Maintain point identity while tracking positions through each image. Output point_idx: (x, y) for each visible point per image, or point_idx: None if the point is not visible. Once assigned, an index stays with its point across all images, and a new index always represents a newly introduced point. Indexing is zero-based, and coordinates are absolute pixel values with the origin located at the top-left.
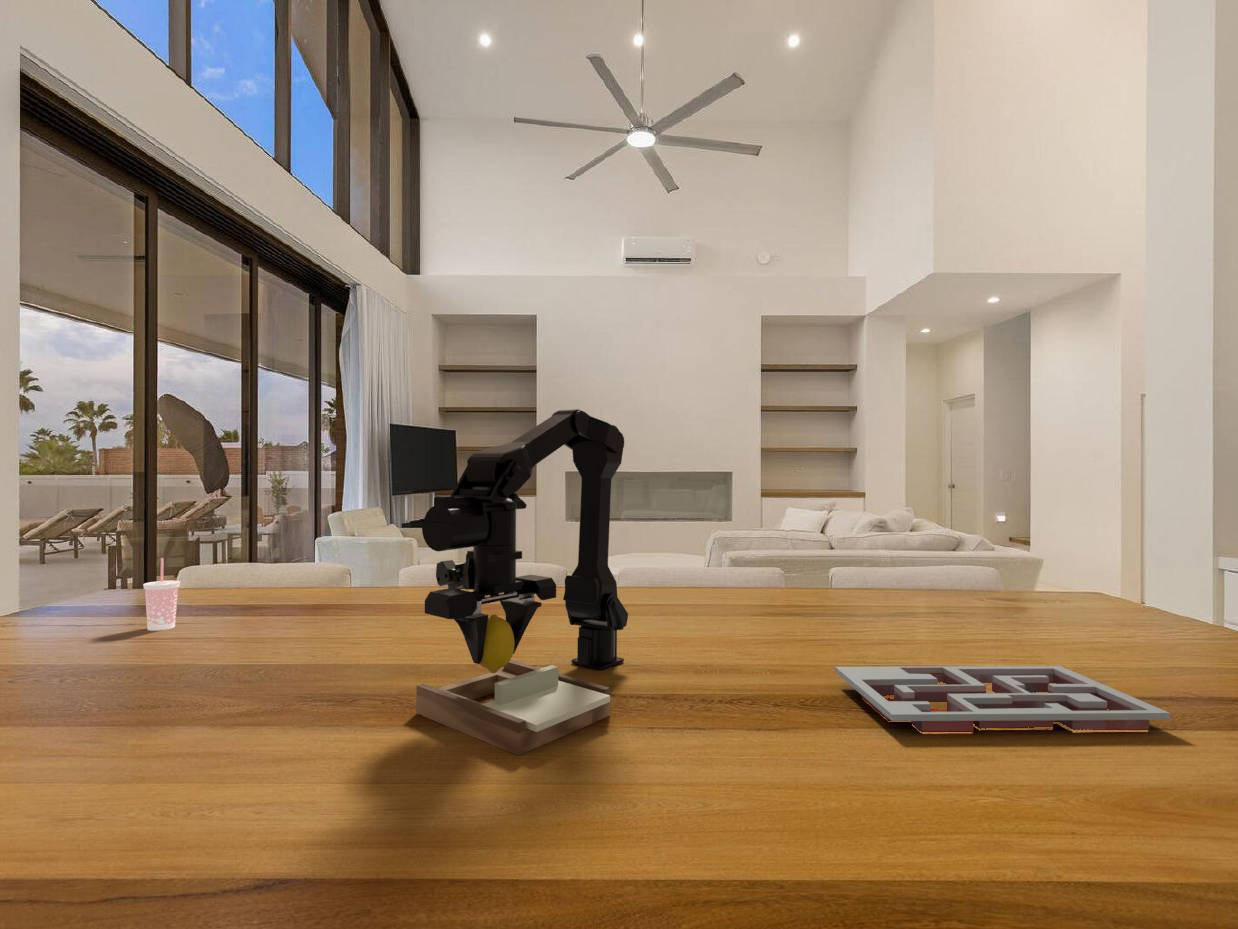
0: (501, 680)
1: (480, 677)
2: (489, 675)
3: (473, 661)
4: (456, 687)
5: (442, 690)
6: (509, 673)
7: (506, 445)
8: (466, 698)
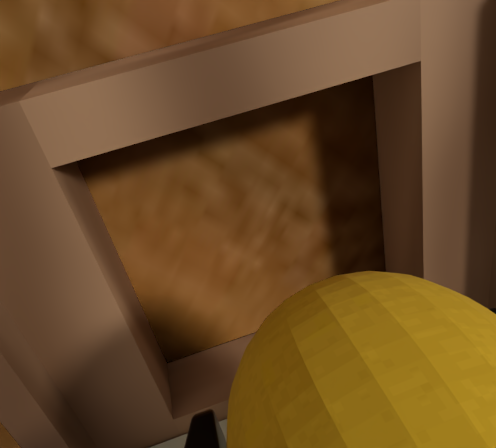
0: (407, 96)
1: (325, 52)
2: (384, 45)
3: (192, 422)
4: (131, 143)
5: (32, 162)
6: (476, 80)
7: None
8: (121, 325)
